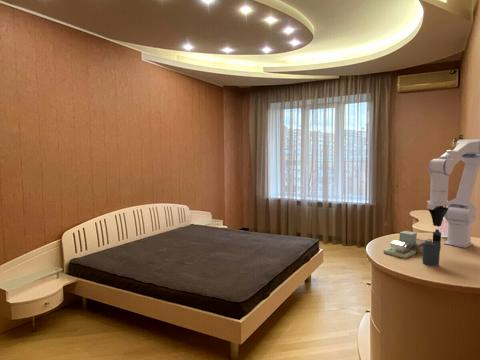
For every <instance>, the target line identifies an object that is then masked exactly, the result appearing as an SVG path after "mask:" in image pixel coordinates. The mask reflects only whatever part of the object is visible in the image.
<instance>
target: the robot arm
mask: <svg viewBox="0 0 480 360" xmlns="http://www.w3.org/2000/svg"><path fill="white" fill-rule="evenodd" d="M460 161H462V162H463V163H465V165H464V167H463V171H462V176H461V179H460V182H459V185H458V190H457V193H456V197H455V198H453V199H451V200H448V199H449V197H448V196H449V180H450V174H452V172H453V169H454V167H455V166H456V165H457V164H458V163H459V162H460ZM427 168H428V172H429V175H428V176H429V178H430V190H429V200H426V209H427V210H428V212H429V214H430V217H431V220H432V225H433V226H434V227H436V226H438V227H440V226H441V224H442V221H443V218H445V219H446V220H447V222H449V223H448V238H447V239H446V241H444V242H443V244H444V245H450V246H454V247H459V248H463V249H465V248H468V247H470V246H472V245H473V244H474V243H473V242H471V239H472V237H471V236H472V227H471V225H472V224H473V223H474V222H475V221H476V216H477V207H476V205H475V204H474V203H472V201H471V199H472V196H473V191H474V187H475V184H476V180H477V176H478V174H479V173H478V172H479V171H480V138H479V139H478V138H477V139H475V138H474V139H458V141H456V143H455V147H454V149H452V150H451V149H447V150H446V151H445V153H443V154H442V155H440V157H438V158H433V159H432V160H430V162H429V163H428V167H427ZM443 206H445V207H443Z"/></svg>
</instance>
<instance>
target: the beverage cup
mask: <svg viewBox="0 0 480 360" xmlns="http://www.w3.org/2000/svg"><path fill="white" fill-rule="evenodd" d="M443 207H446V205H445V206H443ZM448 223H449V222H447V220H446V219H445V218H443V221H442V224H441V226H440V227H438V226H435V230H436V229H438V230H439V232H441V238H442V237H448Z"/></svg>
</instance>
